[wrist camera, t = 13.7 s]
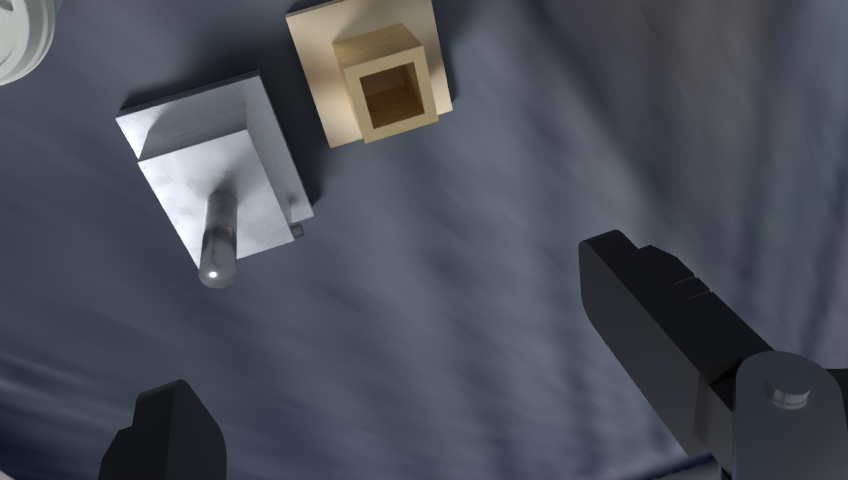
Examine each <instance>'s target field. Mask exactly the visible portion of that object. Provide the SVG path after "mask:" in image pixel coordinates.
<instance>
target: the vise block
mask: <svg viewBox="0 0 848 480" xmlns="http://www.w3.org/2000/svg"><path fill="white" fill-rule="evenodd" d="M115 119H116V120H117V122H118V124H119V126H120V127H121V129H122V131H123V133H124V134H125V136H126V138H127V140H128V141H129V143H130V145H131V146H132V148H133V150H134V152H135V153H136V155H137V157H138V159H139V160H138V164H139V166H140V168H141V170H142V171H143V173H144V175H145V177H146V178H147V180H148V182H149V184H150V185H151V187H152V189H153V190H154V192H155V194H156V196H157V197H158V199H159V201H160V203H161V204H162V206H163V208H164V210H165V211H166V213H167V215H168V216H169V218H170V220H171V222H172V223H173V225H174V227H175V229H176V230H177V232H178V234H179V236H180V237H181V239H182V241H183V243H184V244H185V246H186V248H187V249H188V251H189V253H190V255H191V256H192V258H193V260H194V262H195V263H196V265H197V267H198V269H199V278H200V280H201V281H202V282H203V283H204V284H205V285H206V286H208V287H211V288H224V287H227V286H229V285H230V284H232V283H233V282H234V280H235V278H236V271H237V259H239V258H242V257H245V256H248V255H251V254H255V253H258V252H261V251H264V250H267V249H270V248H273V247H276V246H279V245H282V244H285V243H288V242H292V241H295V240H294V238H297V237H300V236H303V235H304V231H303V228H302V226H301V224H300V223H298V224H295V225H292V223H294V222H297V221H300V220H303V219H306V218H309V217H312V216H314V212H313V207H312V204H311V202H310V199H309V197H308V194H307V192H306V189H305V186H304V184H303V181H302V179H301V176H300V174H299V171H298V169H297V166H296V163H295V161H294V158H293V156H292V153H291V151H290V148H289V145H288V143H287V140H286V138H285V135H284V133H283V130H282V128H281V125H280V122H279V120H278V117H277V115H276V112H275V110H274V107H273V105H272V102H271V99H270V97H269V94H268V92H267V89H266V87H265V84H264V81H263V79H262V76H261V74H260V71H259V69H257V70H254V71H250V72H247V73H244V74H240V75H237V76H233V77H230V78H227V79H223V80H220V81H217V82H213V83H210V84H207V85H203V86H200V87H196V88H193V89H190V90H186V91H183V92H180V93H176V94H173V95H169V96H166V97H163V98H159V99H156V100H153V101H149V102H146V103H142V104H139V105H136V106H132V107H129V108H126V109H122V110H119V112H118V114H117V116H116V118H115Z"/></svg>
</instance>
